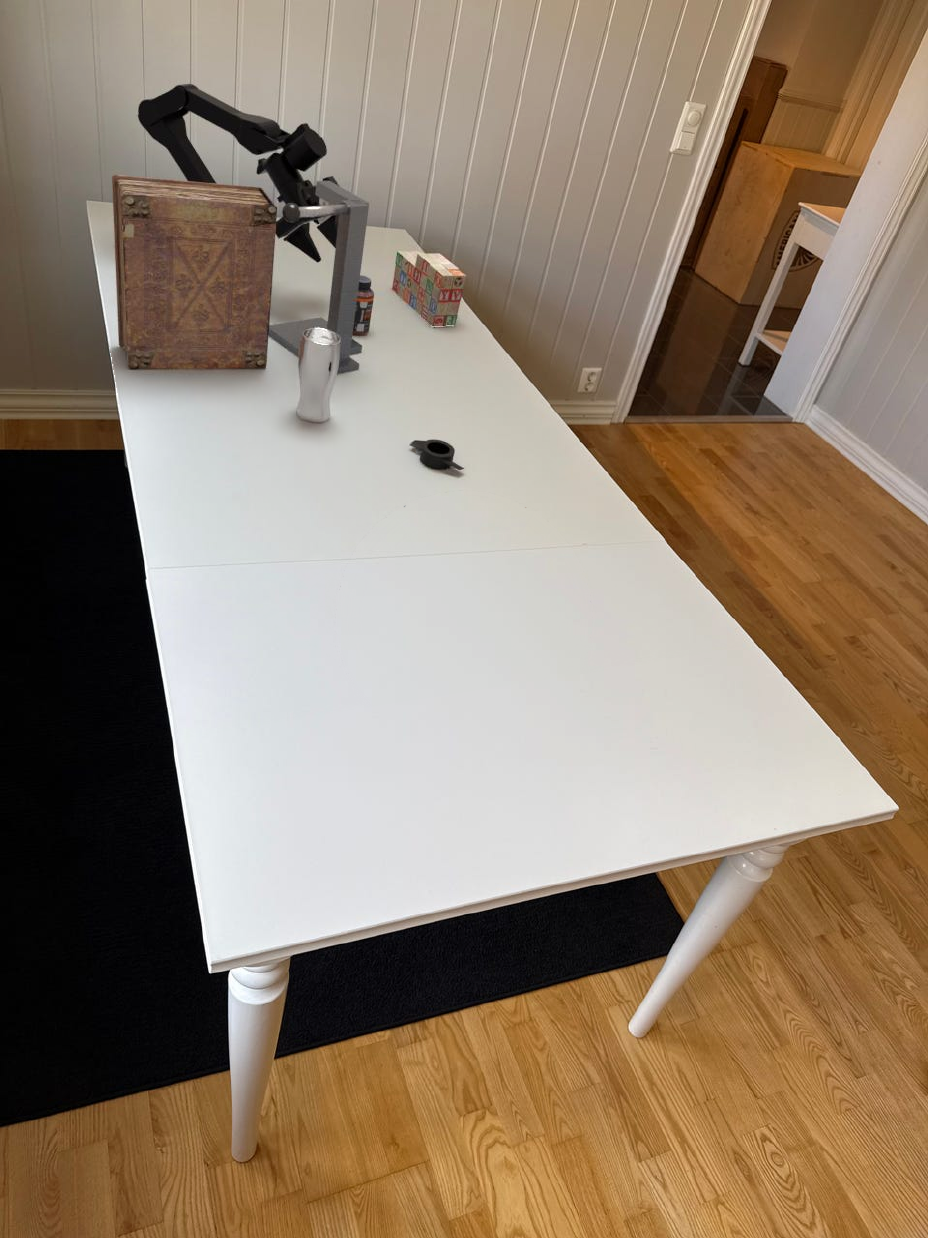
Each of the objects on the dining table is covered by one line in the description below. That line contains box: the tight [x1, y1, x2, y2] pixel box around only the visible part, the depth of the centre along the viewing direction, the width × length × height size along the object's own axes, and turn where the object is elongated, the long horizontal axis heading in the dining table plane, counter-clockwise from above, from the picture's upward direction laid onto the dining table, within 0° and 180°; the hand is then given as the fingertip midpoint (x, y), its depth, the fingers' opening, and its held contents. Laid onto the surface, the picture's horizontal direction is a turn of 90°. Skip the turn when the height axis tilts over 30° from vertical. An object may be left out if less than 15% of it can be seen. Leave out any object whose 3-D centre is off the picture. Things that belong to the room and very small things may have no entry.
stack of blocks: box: [391, 250, 467, 326], centre depth 203 cm, size 21×6×12 cm, turn 31°
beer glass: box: [295, 328, 341, 424], centre depth 154 cm, size 7×7×15 cm
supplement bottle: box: [352, 274, 375, 336], centre depth 186 cm, size 6×6×11 cm
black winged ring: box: [409, 438, 465, 471], centre depth 154 cm, size 8×10×3 cm
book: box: [111, 174, 278, 371], centre depth 156 cm, size 25×9×30 cm, turn 115°
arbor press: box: [268, 180, 370, 375], centre depth 166 cm, size 20×24×32 cm
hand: (331, 256), depth 183 cm, fingers open, 9 cm apart
